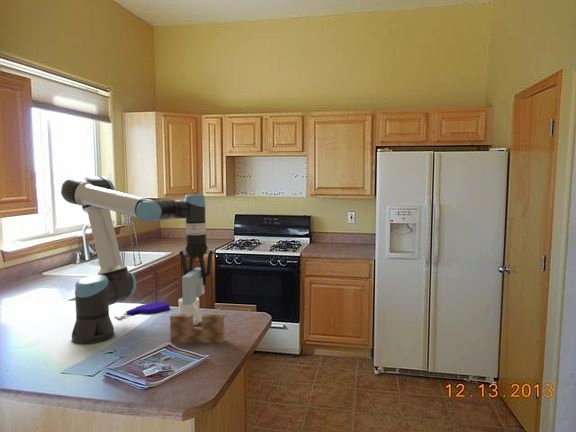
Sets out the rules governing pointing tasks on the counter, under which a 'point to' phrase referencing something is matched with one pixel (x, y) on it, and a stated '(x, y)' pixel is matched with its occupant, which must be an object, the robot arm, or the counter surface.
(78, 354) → the counter surface
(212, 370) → the counter surface
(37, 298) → the counter surface
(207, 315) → the walnut board
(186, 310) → the mug
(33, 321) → the counter surface
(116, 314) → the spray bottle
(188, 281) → the grey flat rectangular block
